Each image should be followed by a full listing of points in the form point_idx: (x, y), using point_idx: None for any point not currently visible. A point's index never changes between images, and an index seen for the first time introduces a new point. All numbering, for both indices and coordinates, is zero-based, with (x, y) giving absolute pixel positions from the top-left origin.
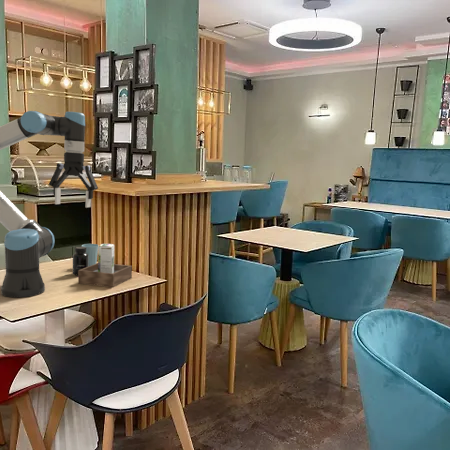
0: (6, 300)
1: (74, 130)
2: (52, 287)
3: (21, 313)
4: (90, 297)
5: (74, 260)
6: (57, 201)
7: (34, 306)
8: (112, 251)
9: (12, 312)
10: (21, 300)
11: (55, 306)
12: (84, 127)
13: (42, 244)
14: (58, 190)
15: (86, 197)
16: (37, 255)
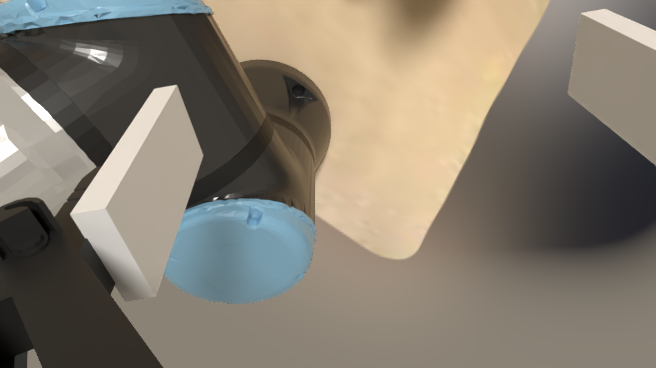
0: None
1: None
2: (305, 36)
3: (405, 238)
4: (505, 70)
5: None
6: (192, 156)
7: (398, 197)
8: None
9: (381, 241)
10: (329, 179)
11: (449, 176)
12: None
13: (276, 150)
14: (149, 234)
15: (651, 150)
16: (308, 178)
